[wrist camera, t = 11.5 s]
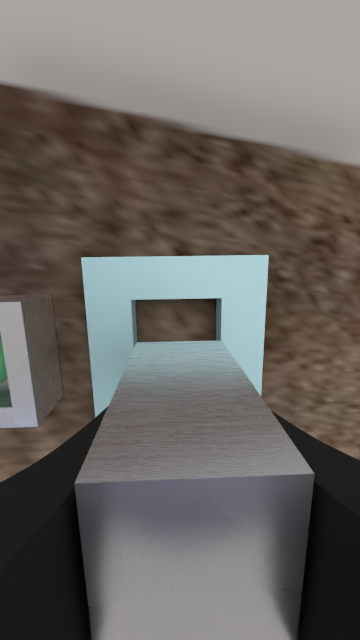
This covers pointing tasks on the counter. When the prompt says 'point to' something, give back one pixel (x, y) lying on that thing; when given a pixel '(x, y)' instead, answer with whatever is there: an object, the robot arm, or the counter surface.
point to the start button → (2, 364)
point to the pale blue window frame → (171, 283)
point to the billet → (192, 504)
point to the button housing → (28, 360)
